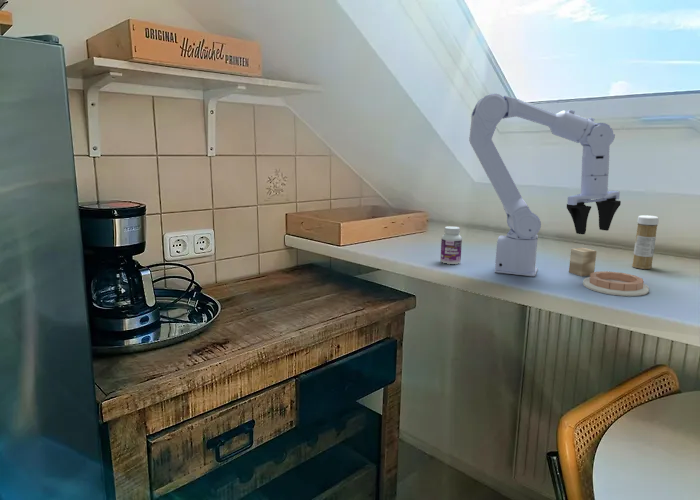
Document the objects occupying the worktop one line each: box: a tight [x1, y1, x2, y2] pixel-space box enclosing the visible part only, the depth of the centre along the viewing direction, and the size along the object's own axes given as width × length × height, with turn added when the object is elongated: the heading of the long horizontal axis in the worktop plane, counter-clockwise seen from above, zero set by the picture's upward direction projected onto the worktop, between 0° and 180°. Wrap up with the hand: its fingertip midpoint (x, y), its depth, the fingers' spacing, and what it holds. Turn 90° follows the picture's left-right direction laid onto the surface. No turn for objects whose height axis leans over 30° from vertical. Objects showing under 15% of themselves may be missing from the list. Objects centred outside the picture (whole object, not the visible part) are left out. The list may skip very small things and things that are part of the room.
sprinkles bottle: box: [631, 214, 660, 270], centre depth 125 cm, size 5×5×14 cm
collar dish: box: [582, 270, 650, 297], centre depth 109 cm, size 13×13×2 cm
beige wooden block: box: [568, 247, 598, 277], centre depth 121 cm, size 4×4×6 cm
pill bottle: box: [440, 225, 463, 265], centre depth 131 cm, size 5×5×10 cm
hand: (592, 231), depth 118 cm, fingers open, 7 cm apart
